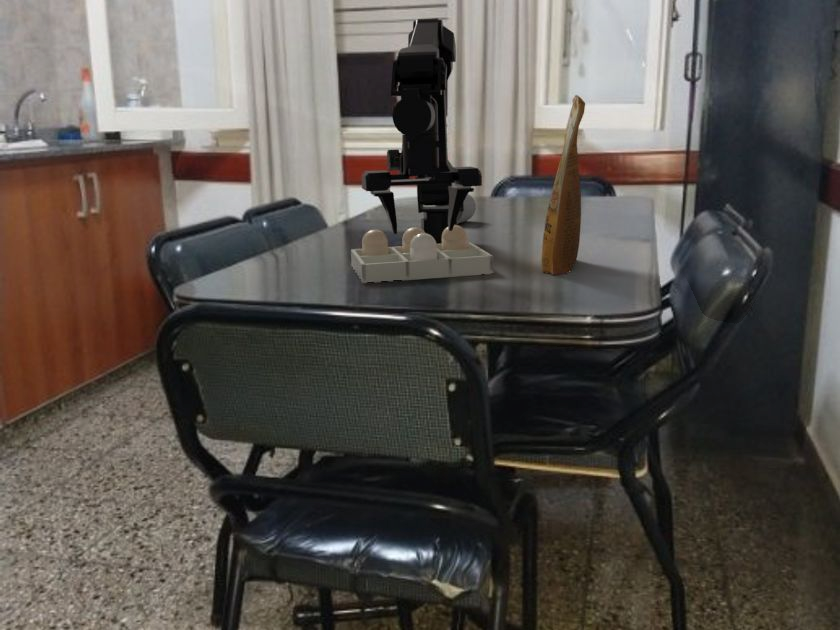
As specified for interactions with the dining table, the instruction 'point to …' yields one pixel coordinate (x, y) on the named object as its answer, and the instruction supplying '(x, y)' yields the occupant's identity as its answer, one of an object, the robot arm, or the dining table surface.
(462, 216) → the ceramic mug
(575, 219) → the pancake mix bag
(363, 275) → the carton
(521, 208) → the dining table surface
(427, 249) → the egg
